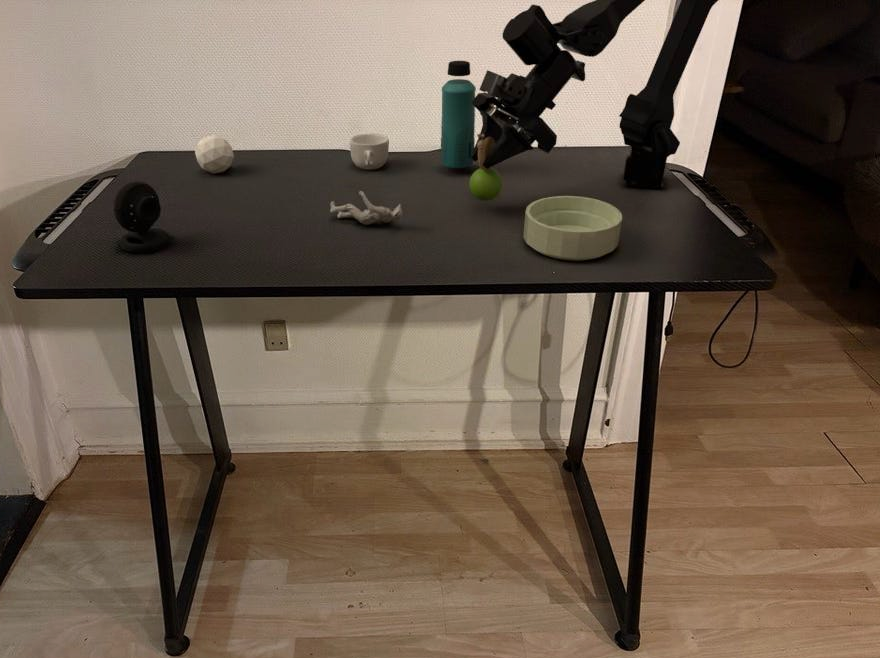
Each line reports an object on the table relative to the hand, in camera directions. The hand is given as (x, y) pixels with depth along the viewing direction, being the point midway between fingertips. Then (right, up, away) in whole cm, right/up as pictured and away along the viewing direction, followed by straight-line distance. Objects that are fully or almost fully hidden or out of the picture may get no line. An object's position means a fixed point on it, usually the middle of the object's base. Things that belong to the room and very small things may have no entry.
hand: (478, 163), depth 118 cm
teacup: (-19, +6, +25) cm, 32 cm away
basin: (+13, -14, -6) cm, 20 cm away
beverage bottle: (-2, +5, +23) cm, 24 cm away
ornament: (-49, +5, +24) cm, 55 cm away
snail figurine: (+1, -5, +4) cm, 7 cm away
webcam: (-53, -14, -4) cm, 55 cm away
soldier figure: (-18, -10, +2) cm, 21 cm away
